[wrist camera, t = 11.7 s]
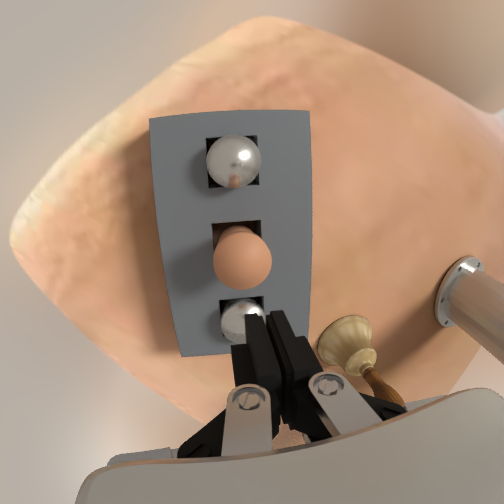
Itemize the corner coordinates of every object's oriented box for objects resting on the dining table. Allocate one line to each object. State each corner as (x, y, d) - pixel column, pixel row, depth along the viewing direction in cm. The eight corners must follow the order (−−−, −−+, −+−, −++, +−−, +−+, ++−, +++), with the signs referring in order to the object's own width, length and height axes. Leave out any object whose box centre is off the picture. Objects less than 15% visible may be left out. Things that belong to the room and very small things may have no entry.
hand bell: (366, 304, 35) (438, 380, 20) (374, 347, 37) (431, 420, 22) (310, 331, 35) (361, 426, 20) (324, 372, 37) (368, 457, 22)
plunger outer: (251, 138, 26) (260, 133, 21) (254, 182, 27) (262, 186, 23) (206, 140, 26) (205, 136, 21) (209, 185, 27) (208, 190, 22)
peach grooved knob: (260, 218, 26) (271, 232, 21) (262, 264, 27) (272, 286, 22) (211, 222, 25) (210, 237, 20) (215, 268, 26) (216, 292, 22)
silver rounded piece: (258, 281, 31) (266, 303, 26) (259, 315, 32) (267, 340, 28) (217, 285, 30) (218, 307, 26) (221, 319, 32) (223, 345, 27)
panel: (296, 116, 26) (309, 110, 23) (298, 324, 34) (307, 343, 30) (157, 124, 25) (149, 118, 21) (183, 336, 32) (181, 357, 29)
